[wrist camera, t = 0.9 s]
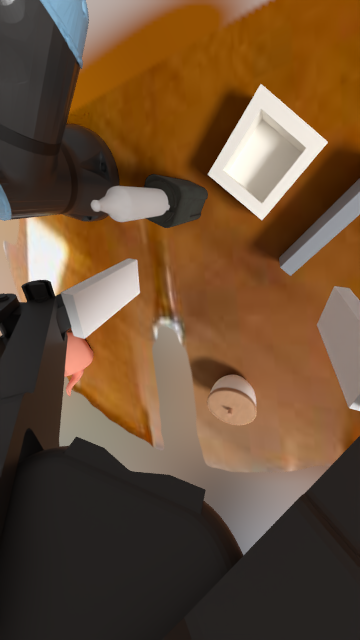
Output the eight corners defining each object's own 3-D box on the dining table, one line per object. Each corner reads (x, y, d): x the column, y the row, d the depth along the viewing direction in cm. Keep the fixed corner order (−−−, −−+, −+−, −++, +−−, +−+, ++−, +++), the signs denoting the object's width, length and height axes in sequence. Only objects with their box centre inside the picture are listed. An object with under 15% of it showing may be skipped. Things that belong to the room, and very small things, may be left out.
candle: (183, 178, 36) (66, 154, 15) (210, 190, 35) (126, 182, 15) (173, 209, 39) (65, 224, 18) (198, 221, 38) (115, 250, 18)
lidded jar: (207, 384, 57) (197, 414, 49) (226, 359, 51) (218, 388, 43) (243, 405, 56) (239, 438, 48) (267, 382, 49) (266, 416, 42)
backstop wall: (278, 257, 36) (280, 267, 31) (380, 157, 27) (403, 149, 22) (287, 265, 36) (290, 275, 31) (391, 168, 27) (418, 162, 22)
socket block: (215, 177, 34) (207, 174, 30) (262, 100, 28) (260, 83, 24) (263, 217, 34) (262, 220, 30) (319, 149, 28) (327, 142, 24)
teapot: (83, 371, 76) (55, 397, 66) (51, 323, 68) (14, 344, 59) (109, 369, 69) (83, 398, 60) (77, 316, 62) (41, 339, 52)
